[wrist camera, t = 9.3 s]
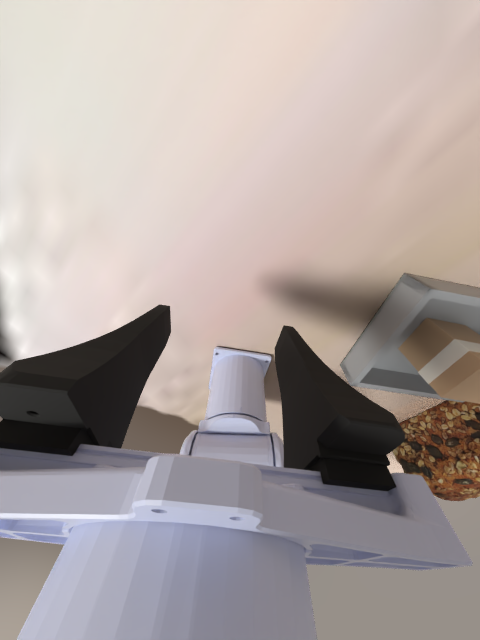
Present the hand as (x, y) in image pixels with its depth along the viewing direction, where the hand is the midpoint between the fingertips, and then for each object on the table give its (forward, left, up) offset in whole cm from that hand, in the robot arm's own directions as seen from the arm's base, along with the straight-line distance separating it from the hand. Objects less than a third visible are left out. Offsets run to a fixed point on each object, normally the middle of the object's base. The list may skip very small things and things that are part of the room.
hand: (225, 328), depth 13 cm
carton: (-4, -25, -10) cm, 27 cm away
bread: (-20, -41, -10) cm, 46 cm away
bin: (-4, -25, -10) cm, 27 cm away
